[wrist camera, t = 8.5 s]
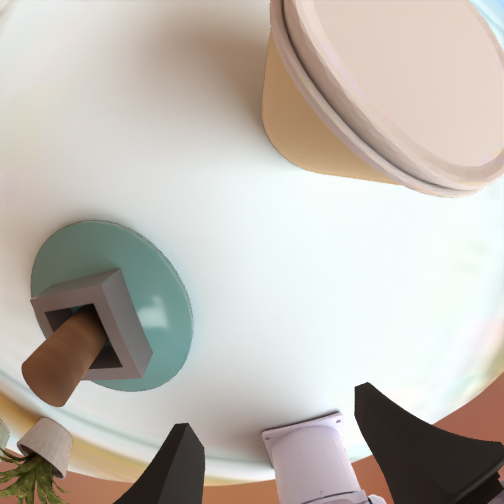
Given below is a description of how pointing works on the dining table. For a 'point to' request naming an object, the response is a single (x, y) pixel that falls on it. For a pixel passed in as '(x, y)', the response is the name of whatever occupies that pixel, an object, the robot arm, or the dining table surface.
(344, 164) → the coffee cup
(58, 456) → the house plant
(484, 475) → the robot arm
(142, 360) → the candle dish
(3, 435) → the disposable coffee cup
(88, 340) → the walnut peg
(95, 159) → the dining table surface
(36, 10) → the dining table surface
